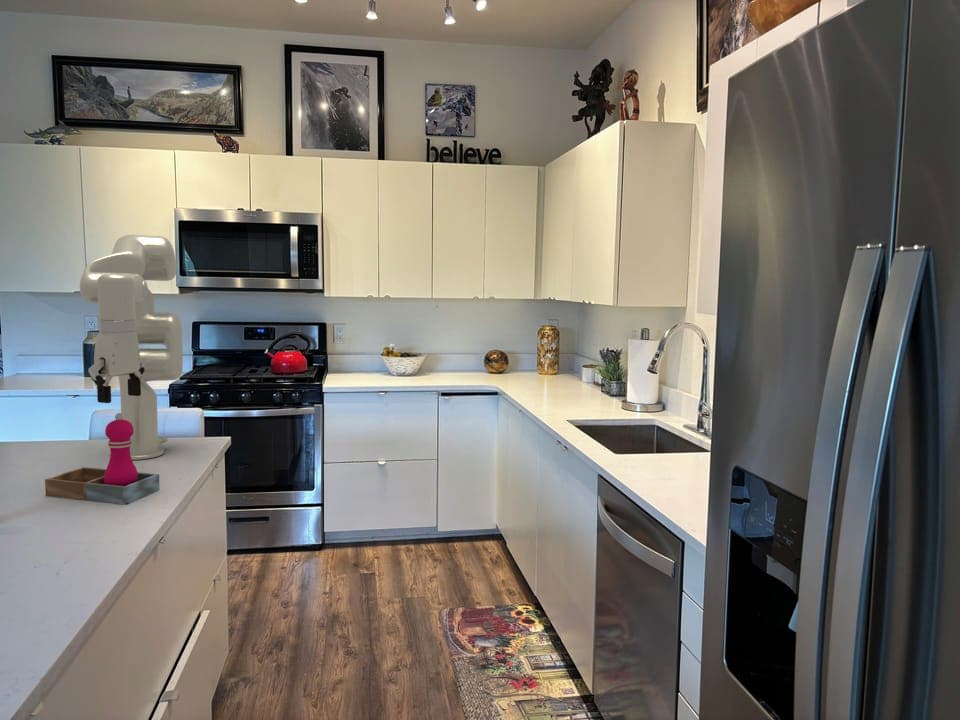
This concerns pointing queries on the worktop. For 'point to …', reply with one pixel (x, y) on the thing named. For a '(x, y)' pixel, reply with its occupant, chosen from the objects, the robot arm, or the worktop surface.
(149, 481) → the organizer
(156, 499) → the worktop surface
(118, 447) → the pepper mill
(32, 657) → the worktop surface
